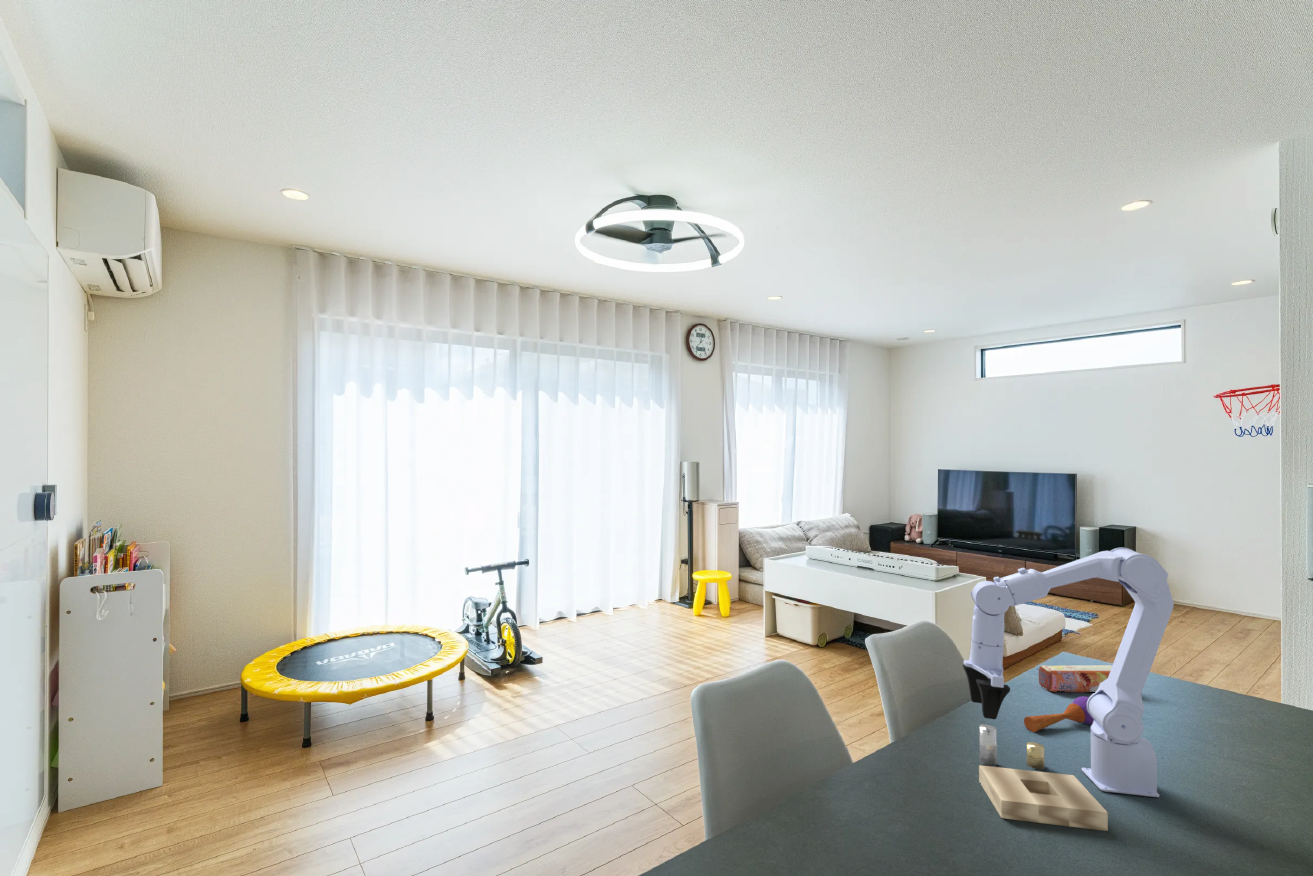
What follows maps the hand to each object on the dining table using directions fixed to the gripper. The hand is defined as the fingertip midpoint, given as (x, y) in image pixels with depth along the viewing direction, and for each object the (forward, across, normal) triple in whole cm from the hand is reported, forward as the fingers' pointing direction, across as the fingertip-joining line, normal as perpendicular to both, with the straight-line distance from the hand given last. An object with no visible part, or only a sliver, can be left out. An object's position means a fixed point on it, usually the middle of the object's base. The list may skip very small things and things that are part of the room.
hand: (983, 709), depth 123 cm
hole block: (+10, +14, +5) cm, 18 cm away
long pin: (+10, 0, +1) cm, 10 cm away
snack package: (+9, -48, +40) cm, 63 cm away
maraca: (+10, -23, +24) cm, 35 cm away
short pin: (+10, -1, +10) cm, 14 cm away
